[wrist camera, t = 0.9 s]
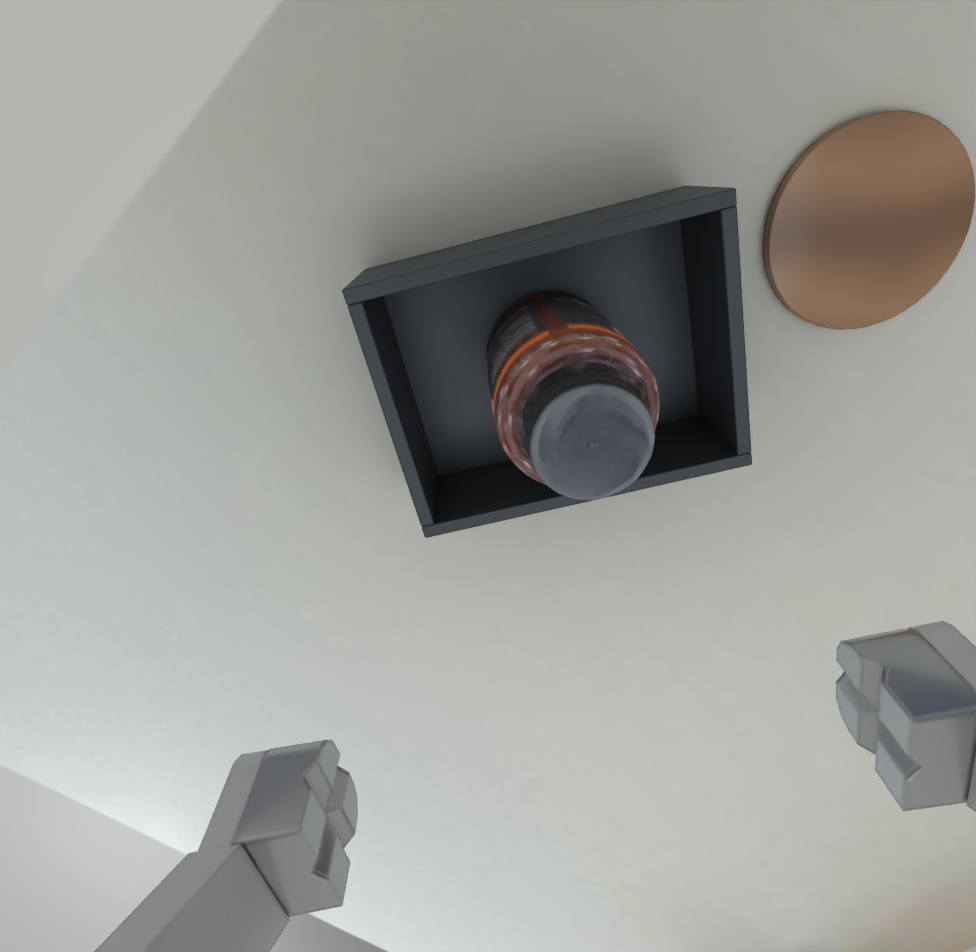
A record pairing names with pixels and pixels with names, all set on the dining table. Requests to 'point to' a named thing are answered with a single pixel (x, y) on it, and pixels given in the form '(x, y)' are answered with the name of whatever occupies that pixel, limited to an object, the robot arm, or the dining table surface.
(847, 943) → the dining table surface
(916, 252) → the coaster
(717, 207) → the bin
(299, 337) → the dining table surface
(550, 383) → the supplement bottle
